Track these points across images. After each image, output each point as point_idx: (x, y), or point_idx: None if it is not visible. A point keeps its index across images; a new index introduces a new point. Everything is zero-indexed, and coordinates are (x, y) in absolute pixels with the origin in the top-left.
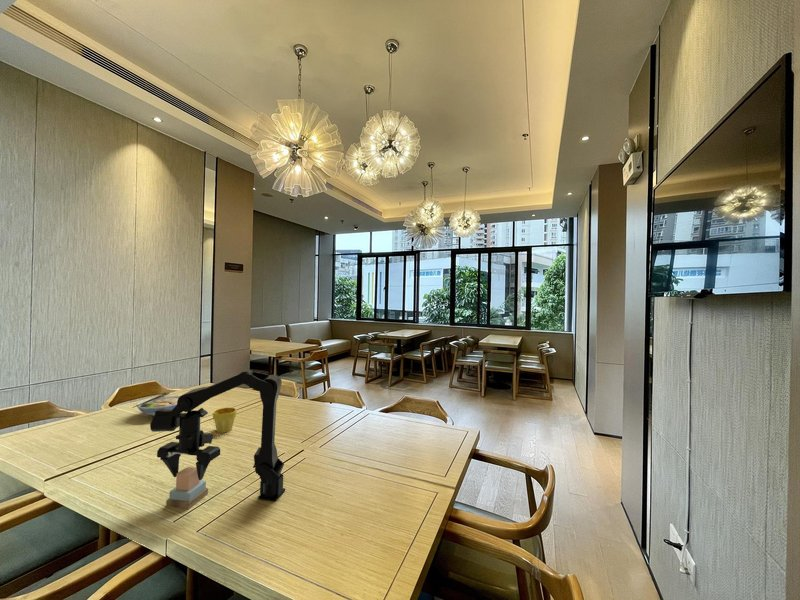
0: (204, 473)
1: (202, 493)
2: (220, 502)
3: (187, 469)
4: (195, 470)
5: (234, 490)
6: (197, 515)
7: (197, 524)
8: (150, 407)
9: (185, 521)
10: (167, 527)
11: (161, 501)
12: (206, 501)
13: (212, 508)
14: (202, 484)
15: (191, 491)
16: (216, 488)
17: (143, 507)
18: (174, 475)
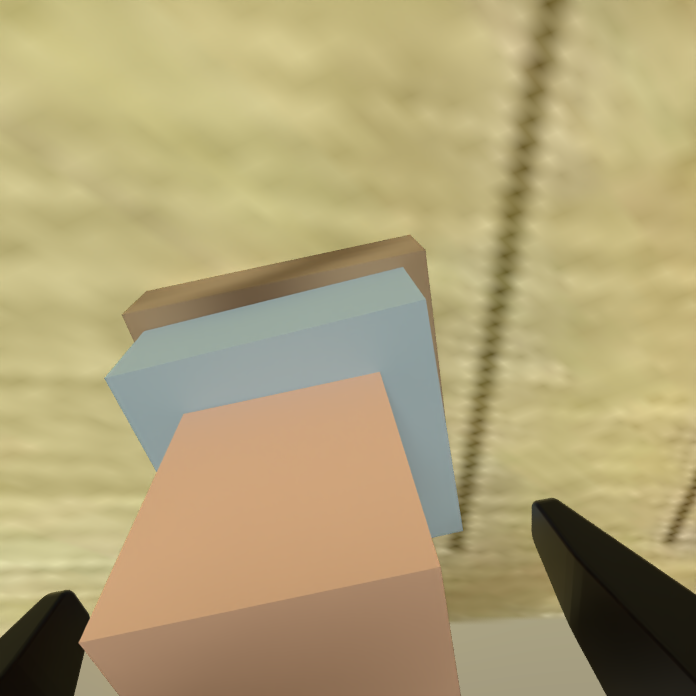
0: (641, 562)
1: (434, 333)
2: (639, 288)
3: (228, 692)
4: (441, 655)
5: (669, 42)
6: (562, 464)
7: (628, 512)
8: None
9: (528, 524)
10: (465, 585)
11: (122, 472)
12: (497, 328)
13: (621, 373)
14: (434, 360)
15: (445, 507)
16: (414, 102)
17: (91, 555)
18: (80, 666)
